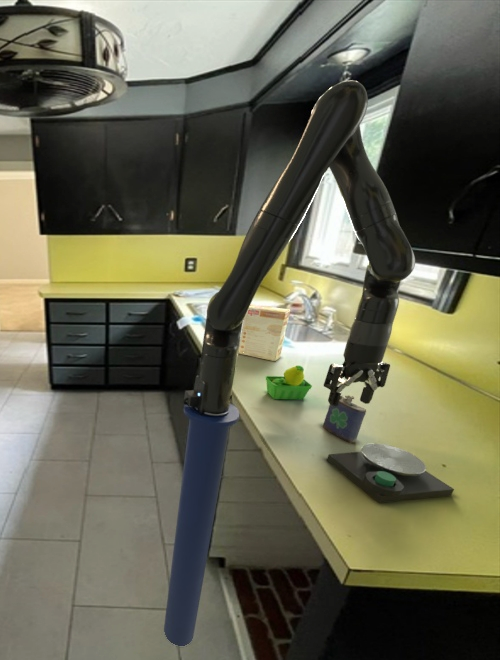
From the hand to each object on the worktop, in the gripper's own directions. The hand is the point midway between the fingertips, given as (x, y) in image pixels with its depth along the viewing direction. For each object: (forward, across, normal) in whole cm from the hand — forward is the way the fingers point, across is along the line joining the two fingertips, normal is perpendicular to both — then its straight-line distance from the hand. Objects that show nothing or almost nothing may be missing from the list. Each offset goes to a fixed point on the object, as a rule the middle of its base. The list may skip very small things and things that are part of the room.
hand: (348, 403), depth 89 cm
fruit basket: (+9, 0, -22) cm, 24 cm away
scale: (+9, +3, +17) cm, 19 cm away
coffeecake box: (+9, -13, -60) cm, 62 cm away
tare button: (+6, +9, +21) cm, 24 cm away
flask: (+9, 0, 0) cm, 9 cm away
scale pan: (+6, +1, +15) cm, 16 cm away
